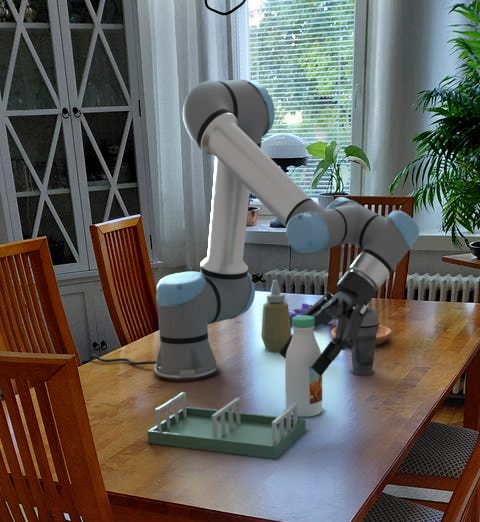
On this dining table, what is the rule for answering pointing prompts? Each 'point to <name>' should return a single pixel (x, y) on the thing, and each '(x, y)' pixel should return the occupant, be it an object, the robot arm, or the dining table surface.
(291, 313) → the toy race car
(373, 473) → the dining table surface
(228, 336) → the dining table surface
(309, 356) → the milk bottle
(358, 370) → the beverage cup
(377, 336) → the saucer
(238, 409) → the drying rack
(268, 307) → the squeeze bottle
